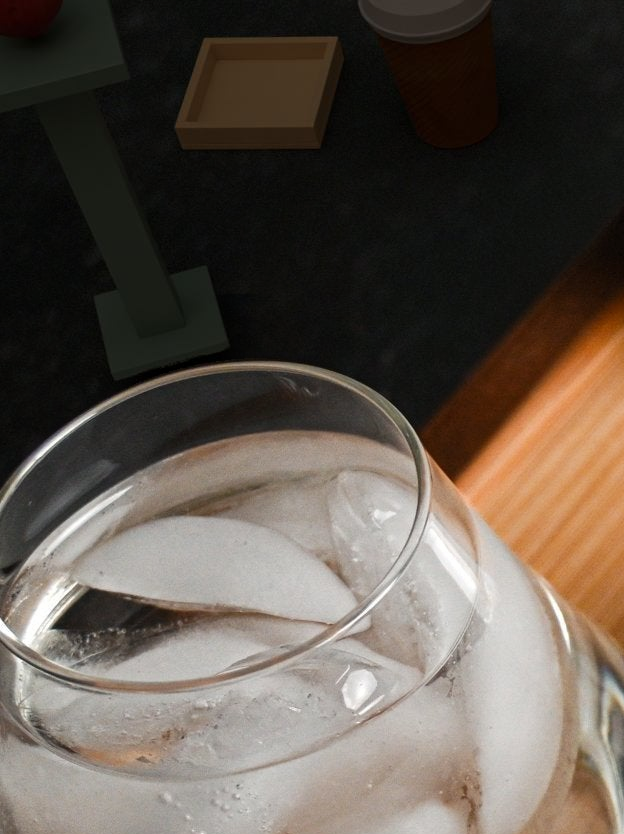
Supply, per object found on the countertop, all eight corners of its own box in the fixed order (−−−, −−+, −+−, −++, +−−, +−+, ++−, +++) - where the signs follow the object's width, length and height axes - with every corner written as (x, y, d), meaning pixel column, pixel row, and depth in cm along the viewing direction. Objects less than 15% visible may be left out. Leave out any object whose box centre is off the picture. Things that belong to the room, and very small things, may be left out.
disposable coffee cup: (372, 152, 142) (331, 8, 132) (422, 71, 147) (386, -74, 136) (492, 173, 140) (460, 29, 130) (539, 90, 145) (511, -56, 135)
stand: (108, 388, 130) (-32, 102, 111) (88, 301, 135) (-49, 12, 115) (239, 351, 131) (124, 62, 112) (215, 266, 136) (100, -26, 117)
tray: (320, 149, 142) (313, 126, 141) (182, 150, 143) (173, 127, 141) (344, 58, 148) (338, 36, 146) (211, 60, 148) (203, 37, 147)
